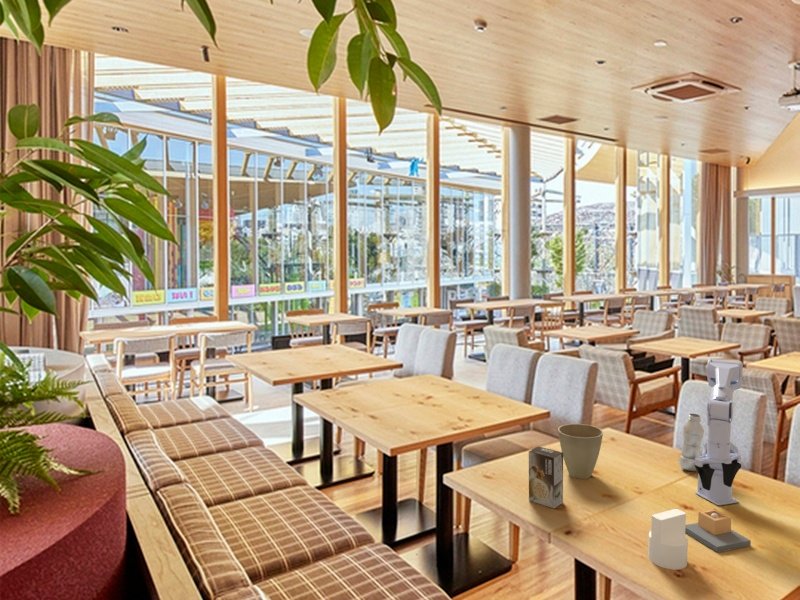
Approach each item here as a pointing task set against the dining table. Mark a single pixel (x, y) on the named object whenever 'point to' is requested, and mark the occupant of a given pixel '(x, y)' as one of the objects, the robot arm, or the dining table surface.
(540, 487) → the coffee box
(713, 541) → the hook board
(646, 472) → the dining table surface
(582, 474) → the plant pot
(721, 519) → the orange loop
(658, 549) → the cylinder with rectangular tab
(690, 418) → the plastic bottle
